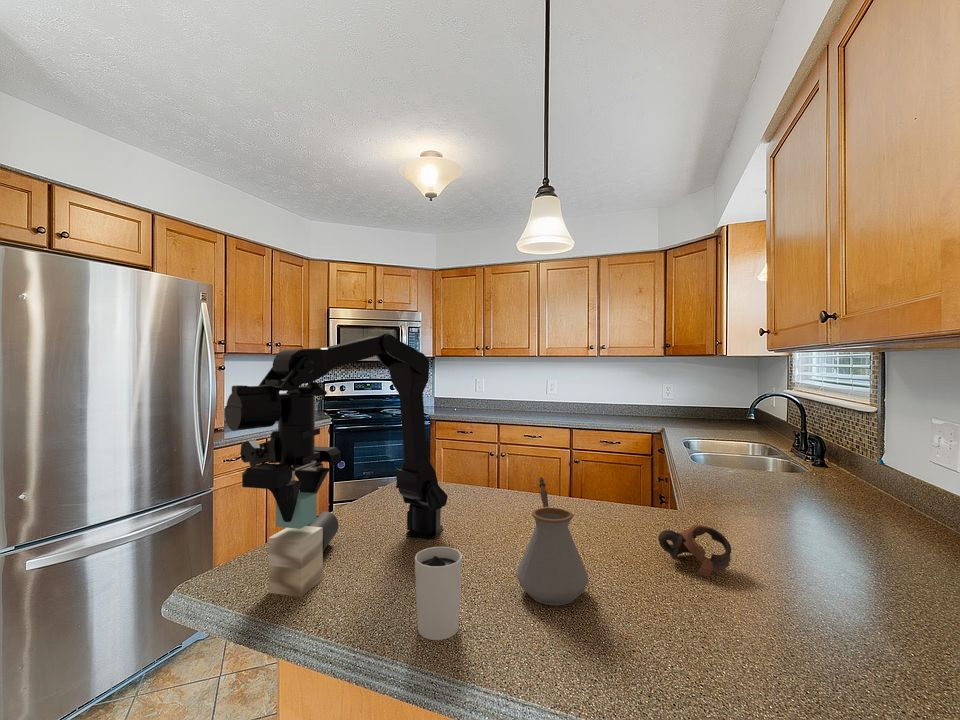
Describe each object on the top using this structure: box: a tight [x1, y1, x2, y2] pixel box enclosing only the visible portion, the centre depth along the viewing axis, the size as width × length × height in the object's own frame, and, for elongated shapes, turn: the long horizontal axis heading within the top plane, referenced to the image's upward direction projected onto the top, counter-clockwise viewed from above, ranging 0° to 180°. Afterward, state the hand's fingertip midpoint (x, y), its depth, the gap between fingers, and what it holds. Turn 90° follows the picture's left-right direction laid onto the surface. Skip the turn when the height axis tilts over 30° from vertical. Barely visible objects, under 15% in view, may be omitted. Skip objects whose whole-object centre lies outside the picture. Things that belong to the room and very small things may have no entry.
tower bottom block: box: [268, 553, 324, 598], centre depth 75 cm, size 6×6×4 cm
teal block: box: [275, 491, 318, 529], centre depth 75 cm, size 4×4×4 cm
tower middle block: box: [268, 526, 324, 569], centre depth 75 cm, size 6×6×4 cm
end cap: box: [306, 510, 339, 552], centre depth 87 cm, size 10×7×7 cm
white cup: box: [414, 546, 463, 641], centre depth 63 cm, size 7×7×10 cm
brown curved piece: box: [657, 524, 732, 578], centre depth 82 cm, size 12×10×8 cm
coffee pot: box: [516, 476, 589, 606], centre depth 77 cm, size 21×12×15 cm, turn 179°
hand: (296, 516), depth 75 cm, fingers closed on teal block, 4 cm apart
